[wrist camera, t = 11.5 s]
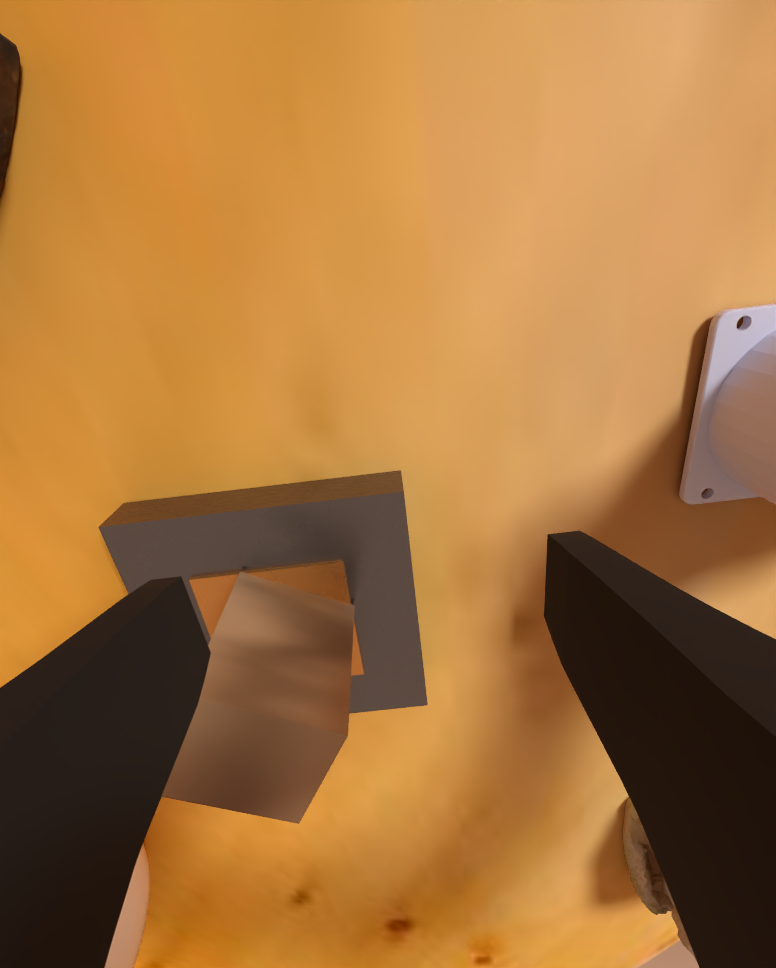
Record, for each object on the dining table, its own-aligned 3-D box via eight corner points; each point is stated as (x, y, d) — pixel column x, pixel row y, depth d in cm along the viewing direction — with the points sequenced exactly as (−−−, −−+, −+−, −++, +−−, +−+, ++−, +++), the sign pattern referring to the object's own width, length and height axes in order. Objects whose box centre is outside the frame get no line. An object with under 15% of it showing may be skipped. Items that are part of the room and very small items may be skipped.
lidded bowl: (134, 891, 33) (31, 1160, 23) (-51, 837, 30) (-266, 1126, 20) (216, 804, 29) (134, 1086, 19) (12, 730, 25) (-220, 1027, 15)
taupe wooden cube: (354, 605, 20) (347, 735, 14) (317, 683, 21) (299, 823, 16) (240, 571, 19) (185, 696, 13) (212, 655, 21) (154, 795, 15)
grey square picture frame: (400, 470, 19) (404, 493, 17) (423, 672, 24) (427, 708, 22) (123, 503, 20) (95, 529, 18) (204, 696, 25) (189, 733, 23)
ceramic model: (638, 751, 28) (763, 979, 19) (816, 741, 28) (1024, 963, 19) (601, 872, 34) (683, 1088, 25) (748, 863, 34) (882, 1075, 25)
